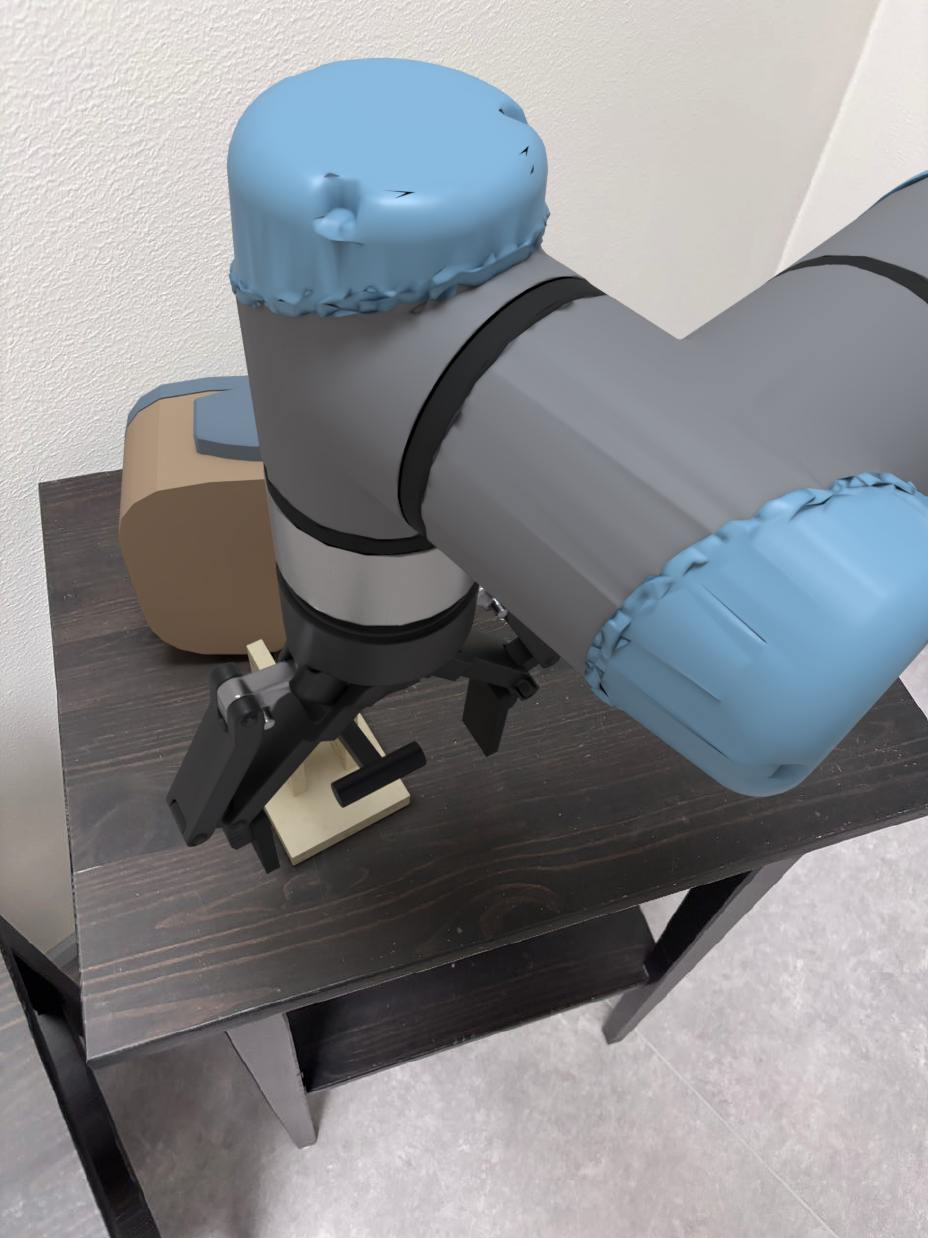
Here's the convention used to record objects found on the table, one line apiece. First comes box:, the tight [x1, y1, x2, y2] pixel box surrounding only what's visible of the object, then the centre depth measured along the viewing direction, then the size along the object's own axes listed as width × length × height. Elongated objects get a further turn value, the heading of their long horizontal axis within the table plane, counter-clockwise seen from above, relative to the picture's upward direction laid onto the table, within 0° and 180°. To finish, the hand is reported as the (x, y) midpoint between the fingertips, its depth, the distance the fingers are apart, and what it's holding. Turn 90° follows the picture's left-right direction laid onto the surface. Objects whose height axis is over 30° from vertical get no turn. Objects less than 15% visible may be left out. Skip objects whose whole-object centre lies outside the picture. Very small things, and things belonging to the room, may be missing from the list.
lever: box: [273, 649, 427, 808], centre depth 52 cm, size 12×5×2 cm, turn 32°
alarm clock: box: [117, 374, 286, 655], centre depth 64 cm, size 21×10×22 cm, turn 99°
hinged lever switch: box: [246, 639, 411, 867], centre depth 60 cm, size 12×9×15 cm
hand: (376, 790), depth 50 cm, fingers open, 13 cm apart
